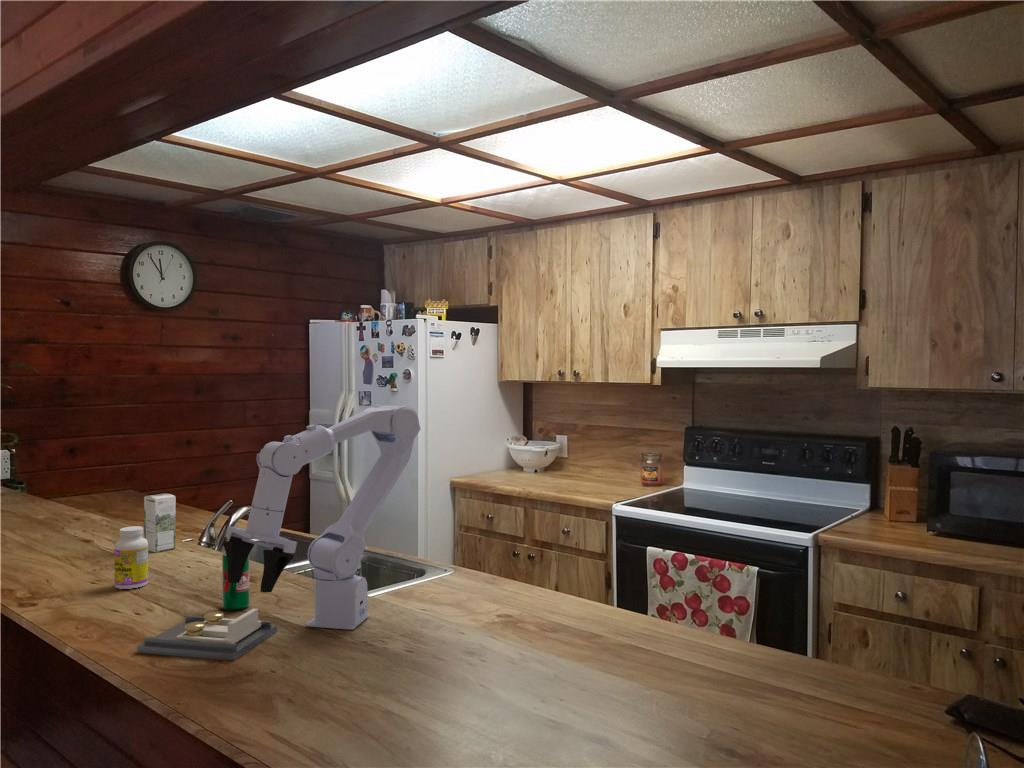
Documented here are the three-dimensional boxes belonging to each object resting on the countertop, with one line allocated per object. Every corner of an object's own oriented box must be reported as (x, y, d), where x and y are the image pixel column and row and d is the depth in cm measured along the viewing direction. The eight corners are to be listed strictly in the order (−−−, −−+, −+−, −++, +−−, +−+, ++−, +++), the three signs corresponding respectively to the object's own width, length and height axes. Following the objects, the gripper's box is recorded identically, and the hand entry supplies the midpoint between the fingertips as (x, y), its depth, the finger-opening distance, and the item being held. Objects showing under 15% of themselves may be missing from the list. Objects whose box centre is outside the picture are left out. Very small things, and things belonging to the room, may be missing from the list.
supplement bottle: (107, 588, 162) (107, 530, 162) (133, 580, 168) (132, 524, 168) (130, 592, 160) (129, 532, 160) (155, 583, 166) (154, 526, 166)
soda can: (240, 612, 146) (240, 551, 146) (217, 610, 147) (217, 550, 147) (254, 604, 151) (254, 545, 151) (232, 603, 152) (231, 544, 152)
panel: (261, 626, 134) (261, 607, 134) (229, 646, 124) (229, 625, 124) (211, 622, 136) (211, 603, 136) (176, 642, 126) (176, 621, 126)
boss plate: (277, 631, 135) (276, 610, 135) (233, 661, 122) (233, 637, 122) (188, 624, 139) (188, 604, 139) (137, 652, 125) (136, 629, 125)
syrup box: (164, 545, 202) (164, 492, 201) (176, 549, 198) (175, 494, 198) (143, 550, 197) (143, 495, 197) (155, 553, 194) (155, 497, 193)
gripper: (221, 500, 131) (201, 578, 128) (283, 514, 124) (264, 596, 122) (250, 503, 137) (232, 578, 135) (311, 517, 131) (293, 595, 128)
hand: (249, 587), depth 129 cm, fingers open, 7 cm apart
